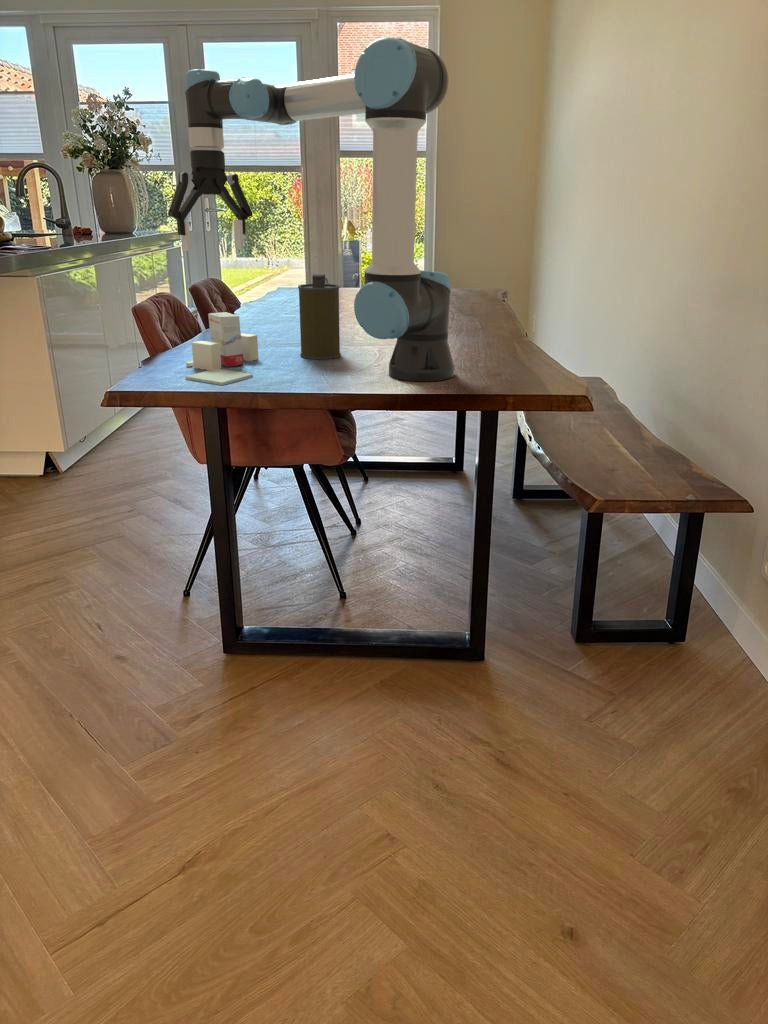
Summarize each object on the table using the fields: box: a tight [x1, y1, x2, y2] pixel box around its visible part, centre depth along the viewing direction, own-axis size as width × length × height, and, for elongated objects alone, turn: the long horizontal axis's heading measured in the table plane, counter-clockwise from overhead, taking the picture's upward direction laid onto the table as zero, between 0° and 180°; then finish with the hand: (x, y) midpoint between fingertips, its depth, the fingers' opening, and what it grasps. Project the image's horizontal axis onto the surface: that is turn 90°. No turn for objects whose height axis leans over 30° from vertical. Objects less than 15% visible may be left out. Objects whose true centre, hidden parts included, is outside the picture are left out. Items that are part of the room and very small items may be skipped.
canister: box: [297, 273, 342, 360], centre depth 193 cm, size 11×10×20 cm
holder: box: [185, 332, 259, 371], centre depth 186 cm, size 8×16×6 cm, turn 149°
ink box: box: [207, 311, 245, 368], centre depth 184 cm, size 9×5×12 cm, turn 33°
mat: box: [185, 369, 254, 386], centre depth 172 cm, size 11×10×1 cm
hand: (213, 249), depth 179 cm, fingers open, 13 cm apart
